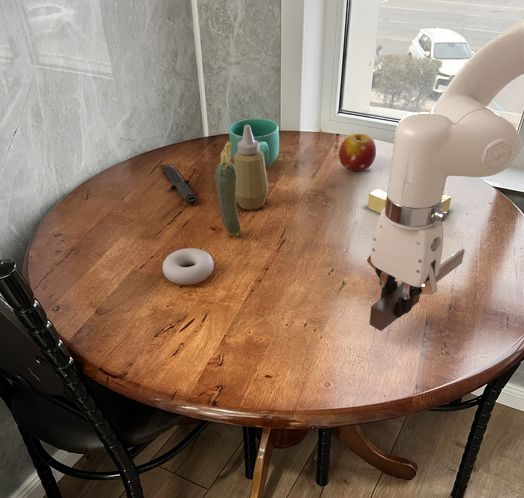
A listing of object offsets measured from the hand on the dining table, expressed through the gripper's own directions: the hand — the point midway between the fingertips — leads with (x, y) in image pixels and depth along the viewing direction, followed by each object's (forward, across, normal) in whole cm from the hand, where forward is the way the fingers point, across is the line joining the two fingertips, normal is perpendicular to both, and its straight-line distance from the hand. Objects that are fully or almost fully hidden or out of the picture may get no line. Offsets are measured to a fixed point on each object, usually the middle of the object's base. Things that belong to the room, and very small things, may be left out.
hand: (395, 308), depth 89 cm
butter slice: (+4, +27, -31) cm, 41 cm away
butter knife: (+1, 0, -7) cm, 7 cm away
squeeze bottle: (+5, +50, -12) cm, 52 cm away
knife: (+5, +71, -6) cm, 71 cm away
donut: (+5, +38, +15) cm, 41 cm away
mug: (+4, +64, -26) cm, 69 cm away
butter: (+4, +18, -36) cm, 41 cm away
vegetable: (+5, +43, 0) cm, 43 cm away
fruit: (+4, +45, -43) cm, 62 cm away
